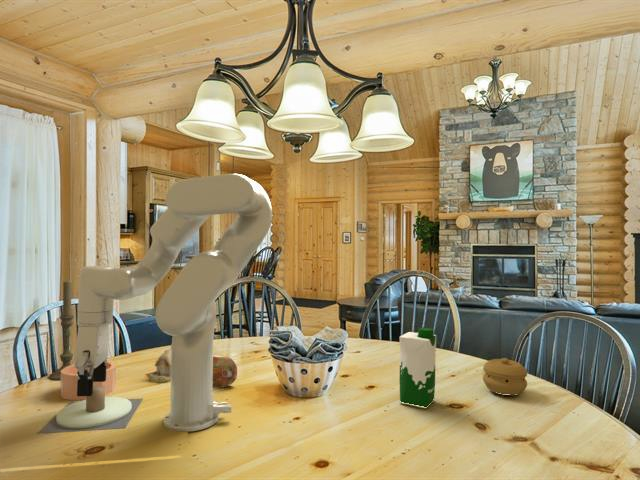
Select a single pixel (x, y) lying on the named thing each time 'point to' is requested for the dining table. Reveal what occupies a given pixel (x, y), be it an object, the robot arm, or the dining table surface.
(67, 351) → the candlestick holder
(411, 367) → the milk carton
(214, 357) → the tin
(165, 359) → the ceramic model
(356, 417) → the dining table surface
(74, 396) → the bowl
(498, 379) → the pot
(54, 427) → the mat
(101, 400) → the lid
